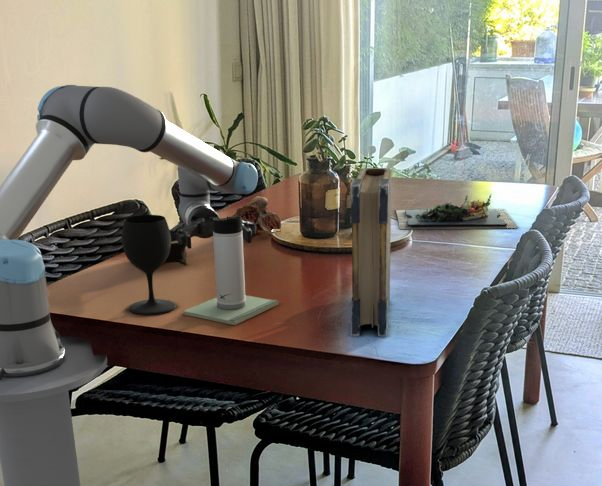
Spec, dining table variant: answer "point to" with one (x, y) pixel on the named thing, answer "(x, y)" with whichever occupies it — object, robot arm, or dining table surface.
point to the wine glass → (147, 256)
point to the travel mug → (229, 263)
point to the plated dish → (455, 217)
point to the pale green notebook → (232, 317)
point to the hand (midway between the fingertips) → (219, 239)
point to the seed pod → (259, 215)
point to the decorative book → (370, 249)
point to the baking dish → (177, 253)
